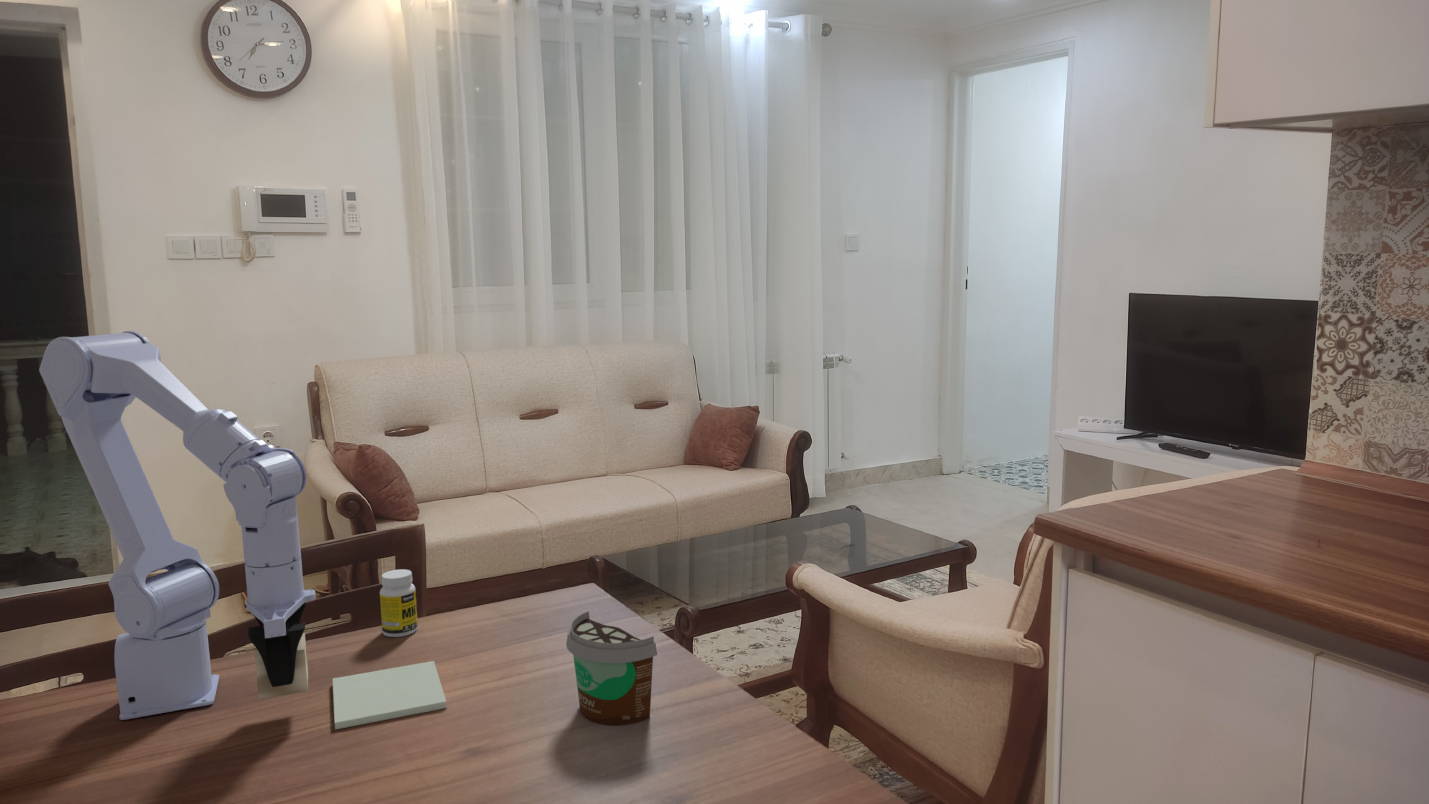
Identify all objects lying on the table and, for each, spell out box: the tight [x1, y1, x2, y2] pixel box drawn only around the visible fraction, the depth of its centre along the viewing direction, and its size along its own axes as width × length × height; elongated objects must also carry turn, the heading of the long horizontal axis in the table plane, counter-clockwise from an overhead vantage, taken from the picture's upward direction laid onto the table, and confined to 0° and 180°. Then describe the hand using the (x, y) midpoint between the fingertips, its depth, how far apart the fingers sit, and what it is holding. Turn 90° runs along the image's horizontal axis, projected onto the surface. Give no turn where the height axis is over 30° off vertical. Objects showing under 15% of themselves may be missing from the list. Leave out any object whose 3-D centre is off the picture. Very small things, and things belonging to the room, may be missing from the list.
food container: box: [565, 610, 658, 727], centre depth 105 cm, size 12×6×10 cm, turn 47°
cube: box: [254, 632, 309, 700], centre depth 106 cm, size 5×5×5 cm
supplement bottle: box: [379, 568, 419, 638], centre depth 129 cm, size 5×5×8 cm
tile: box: [332, 660, 448, 730], centre depth 111 cm, size 12×12×1 cm
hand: (283, 674), depth 106 cm, fingers closed on cube, 5 cm apart
